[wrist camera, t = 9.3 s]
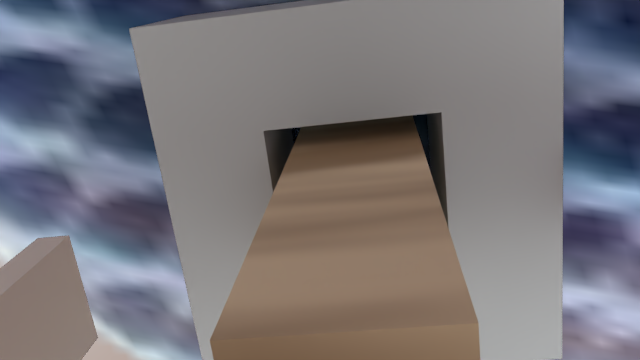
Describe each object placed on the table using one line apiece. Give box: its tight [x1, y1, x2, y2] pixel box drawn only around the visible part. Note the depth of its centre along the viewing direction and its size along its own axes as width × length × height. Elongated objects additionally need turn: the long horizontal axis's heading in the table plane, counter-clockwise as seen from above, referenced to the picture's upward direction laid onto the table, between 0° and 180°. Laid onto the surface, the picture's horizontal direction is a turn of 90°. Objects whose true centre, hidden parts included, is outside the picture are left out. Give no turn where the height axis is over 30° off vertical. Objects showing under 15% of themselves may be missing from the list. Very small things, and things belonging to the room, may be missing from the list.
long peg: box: [210, 115, 480, 360], centre depth 15 cm, size 4×4×14 cm
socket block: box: [129, 0, 564, 360], centre depth 19 cm, size 11×11×5 cm
